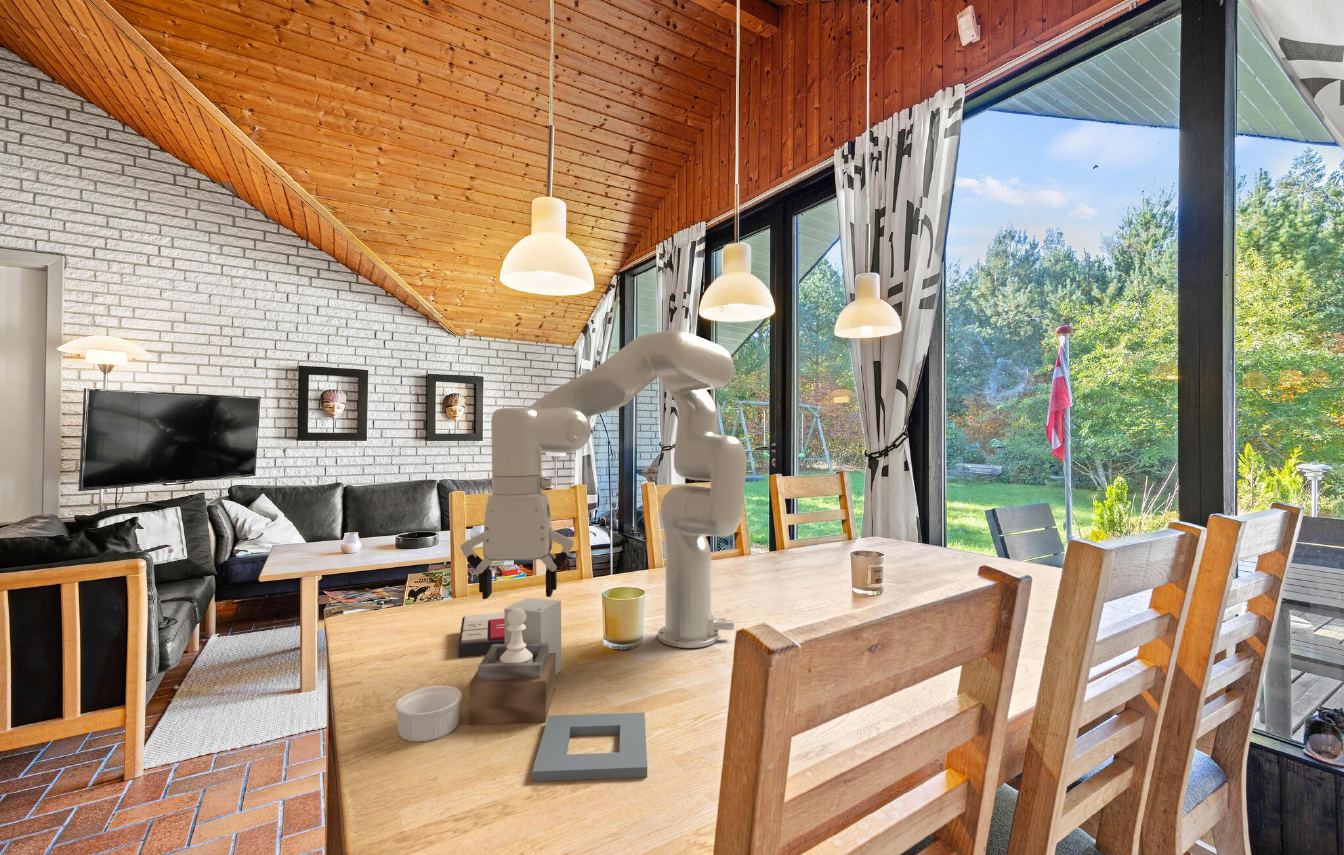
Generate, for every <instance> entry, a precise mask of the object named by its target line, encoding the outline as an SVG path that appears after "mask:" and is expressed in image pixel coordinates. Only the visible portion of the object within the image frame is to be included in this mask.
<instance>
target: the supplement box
mask: <svg viewBox="0 0 1344 855" xmlns="http://www.w3.org/2000/svg"><path fill="white" fill-rule="evenodd" d="M515 608H520V609H522V610H523V611H524V612H525V614H526V619H525V622H524V623H523V624H524V625H525V626H526V629H524V630H522V639H523V642H524V643H526V644H529V643H549V653H556V658H555V676H557V675H558V674H559V673H561V671H562V601H561V600H555V599H545V598H535V597H525V598H523V599H521V600H520V601H517V602H515V603H514V604H513V603H512V604H511V605H509V606H507V607H505V608H504V609H503V610H504V614H505V644H509V643H510V640H511V631H508V630H507V628H508V626H510V624H509V623H508V620H507V616H508V614H509V612H510V611H511V610H512V609H515Z"/></svg>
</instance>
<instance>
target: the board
mask: <svg viewBox="0 0 1344 855" xmlns="http://www.w3.org/2000/svg"><path fill="white" fill-rule="evenodd" d="M645 719H646V718H645V712H641V711H640V712H619V713H618V712H615V713H611V712H610V713H585V714H584V713H583V714H557V715H556V714H555V715H554V714H553V715H552V714H551V715H549V714H548V716H547V719H546V722H545V723H546V724H545V727H544V731H543V734H542V737H541V741H540V744H539V747H538V752H537V754H536V758H535V761H534V764H533V769H532V771H531V773H532V774H531V775H532V777H531V778H532V779H531V781H532V782H551V781H552V782H554V781H557V782H558V781H577V780H601V779H602V780H603V779H604V780H605V779H607V780H608V779H627V778H631V779H632V778H648V757H647V756H648V753H647V737H646V736H647V735H646V720H645ZM617 734H618V735H619V752H595V753H575V754H574V753H573V754H571V753H568V749H569V744H570V738H571V736H590V735H592V736H595V735H596V736H597V735H617ZM567 753H568V754H567Z"/></svg>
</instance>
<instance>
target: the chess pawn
mask: <svg viewBox="0 0 1344 855" xmlns="http://www.w3.org/2000/svg"><path fill="white" fill-rule="evenodd" d="M525 619H526V614H525V612H524V611H523V610H522V609H520V608H515V609H512V610H511V611H510V612H509V614H508V616H507V620H508V623H509V624H510V626H508V628H507V630H508V631H511V640H510V643H509V644H508V645H507V650H506V651H505V652H504V653H503V654H502V655H501V657H500V663H531V662H533V660H532V658H533V655H532V653H531V652H530V651H529V650H527V649H526V648H525V647H526V643H524V642H523V639H522V630H524V629H526V626H525V625H524V624H523V623H524V622H525Z"/></svg>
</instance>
